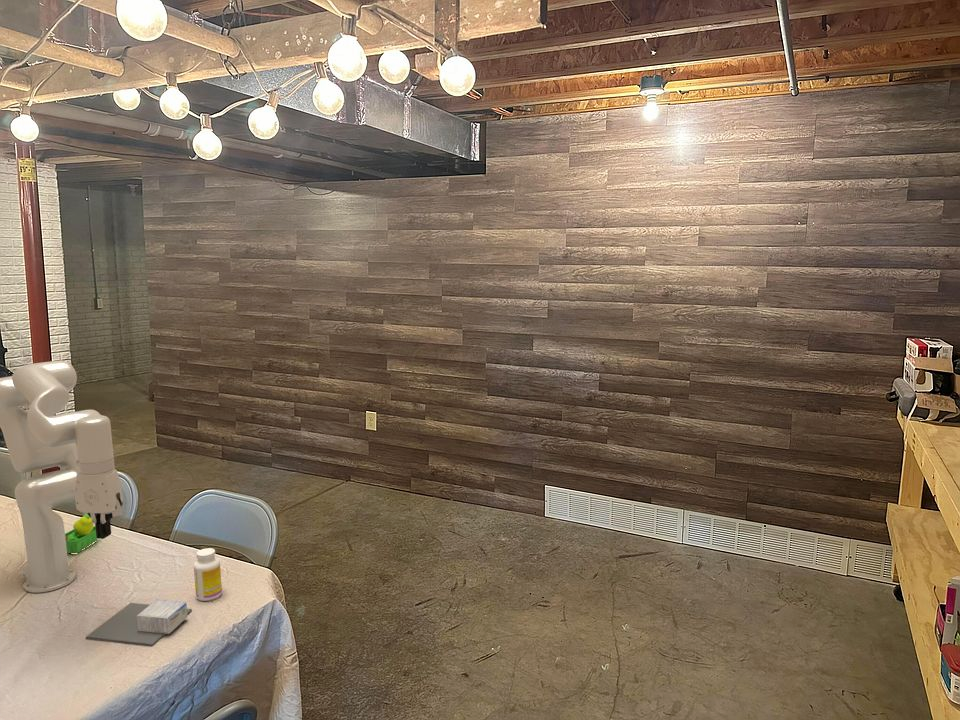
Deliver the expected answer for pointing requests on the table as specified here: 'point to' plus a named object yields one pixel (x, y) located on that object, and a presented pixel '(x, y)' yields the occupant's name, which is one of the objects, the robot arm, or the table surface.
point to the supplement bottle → (207, 575)
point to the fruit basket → (80, 535)
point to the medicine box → (162, 616)
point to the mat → (126, 628)
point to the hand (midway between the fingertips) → (104, 536)
